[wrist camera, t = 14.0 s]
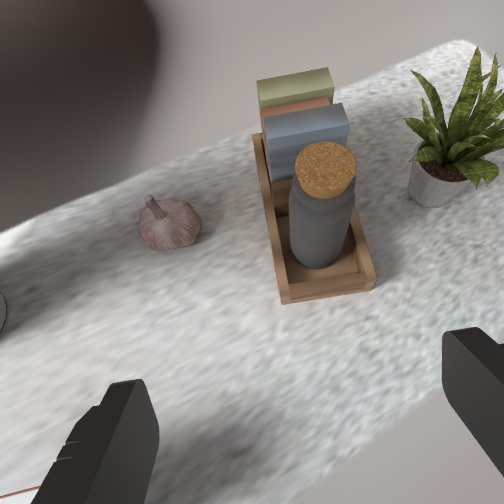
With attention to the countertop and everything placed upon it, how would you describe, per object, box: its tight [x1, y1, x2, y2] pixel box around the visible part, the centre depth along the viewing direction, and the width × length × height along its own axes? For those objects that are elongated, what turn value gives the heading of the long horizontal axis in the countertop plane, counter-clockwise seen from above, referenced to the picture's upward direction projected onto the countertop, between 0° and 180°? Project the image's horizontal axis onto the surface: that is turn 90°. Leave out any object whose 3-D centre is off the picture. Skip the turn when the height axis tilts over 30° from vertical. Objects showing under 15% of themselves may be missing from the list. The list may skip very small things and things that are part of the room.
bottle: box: [289, 141, 357, 270], centre depth 34 cm, size 6×6×15 cm
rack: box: [252, 67, 377, 305], centre depth 38 cm, size 22×10×13 cm, turn 8°
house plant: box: [404, 46, 504, 208], centre depth 36 cm, size 14×14×16 cm
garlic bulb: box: [139, 195, 200, 250], centre depth 42 cm, size 8×7×8 cm
